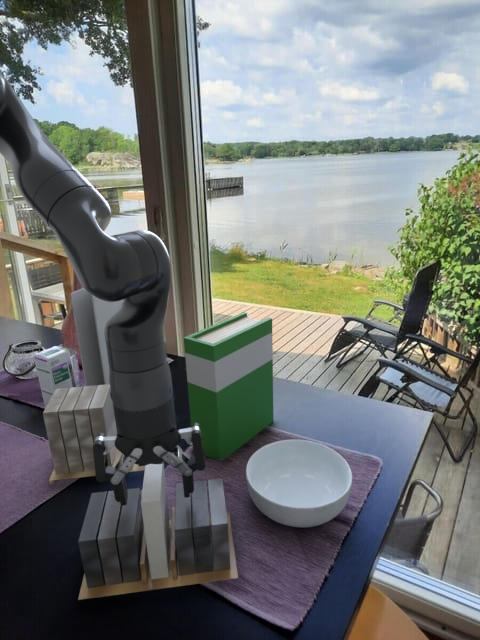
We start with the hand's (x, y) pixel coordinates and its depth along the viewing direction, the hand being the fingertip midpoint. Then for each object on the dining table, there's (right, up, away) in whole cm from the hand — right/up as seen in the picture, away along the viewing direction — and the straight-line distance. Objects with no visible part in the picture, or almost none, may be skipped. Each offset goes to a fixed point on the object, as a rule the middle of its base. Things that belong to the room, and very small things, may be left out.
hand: (155, 497), depth 61 cm
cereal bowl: (+21, -6, +12) cm, 25 cm away
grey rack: (0, -10, +3) cm, 11 cm away
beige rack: (-13, -3, +26) cm, 29 cm away
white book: (0, -9, +3) cm, 10 cm away
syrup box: (-31, +3, +46) cm, 56 cm away
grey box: (-17, +3, +44) cm, 48 cm away
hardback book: (+11, 0, +32) cm, 34 cm away
